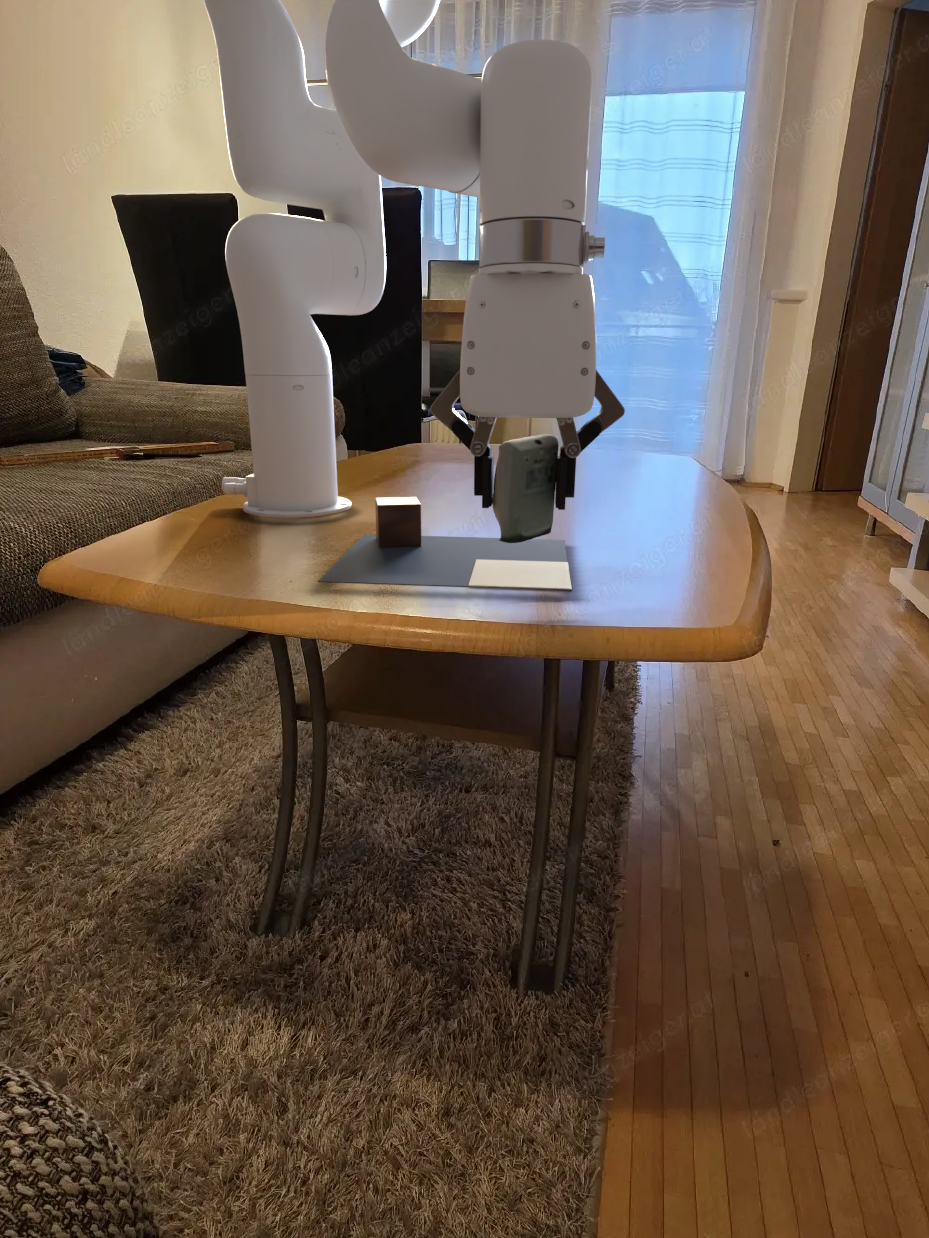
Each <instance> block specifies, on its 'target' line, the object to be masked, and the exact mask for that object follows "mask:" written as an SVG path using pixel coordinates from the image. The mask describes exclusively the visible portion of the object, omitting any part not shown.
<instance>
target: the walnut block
mask: <svg viewBox="0 0 929 1238" xmlns="http://www.w3.org/2000/svg"><path fill="white" fill-rule="evenodd" d="M374 503H375V504H374V507H375V535H376V538H377V542H378V545H379V547H410V546H421V536H422V504H421V503H420V501H419V499H418V497H417V496H388V497H387V496H386V497H384V496H383V497H375V498H374Z"/></svg>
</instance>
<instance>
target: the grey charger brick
mask: <svg viewBox="0 0 929 1238" xmlns="http://www.w3.org/2000/svg"><path fill="white" fill-rule="evenodd" d="M558 439H559V438H558V437H557V436H555V435H553V434H547V433H546V434H545V433H544V434H536V435H531V436H525V437H524V436H523V437H519V438H514V439H509V440H505V441H503V442H502V443H500V444H499V445H498V454H497V455H498V457H497V461H496V466H495V469H494V470H495V471H494V482H493V500H492V510H493V514H494V517H495V519H496V521H497V523H498V526H499V530H500V537H499V538H500V539H499V541H502V542H506V543H519V542H524V541H527V540H529V539H537V538H539V537H543V536H546V535H549V534H551V532H552V528H553V524H554V512H555V494H556V474H557V456H559V448H560V445H559V440H558Z"/></svg>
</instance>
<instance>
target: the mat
mask: <svg viewBox="0 0 929 1238" xmlns="http://www.w3.org/2000/svg"><path fill="white" fill-rule="evenodd" d="M500 538H501V537H476V536H445V535H444V536H442V535H441V536H440V535H439V536H438V535H421V546H410V547H379V545H378V542H377V538H376V534H374V533H373V534H372V533H371V534H370V533H364V534H363V535H362V536H361V537H360V538H359V539H358V540H357V541H356V542H355V543H354V544H353V545H352V546H351V547H350V548H349V549H348V550H347V551H346V553H344V555H342V556H341V557H340V558H339V560H338V561H336V562H335V563H334V564H333V566H331V568H329V570H327V571H326V573H325V574H324V575H322V577H321V578H319V580H318V581H317V582H318V583H335V584H336V583H338V584H339V583H341V584H366V585H367V584H368V585H369V584H370V585H371V584H372V585H394V586H395V585H398V586H399V585H401V586H424V587H425V586H426V587H427V586H429V587H430V586H431V587H457V588H458V587H459V588H485V589H486V588H488V589H489V588H490V589H515V590H517V589H518V590H544V591H545V590H546V591H547V590H549V591H550V590H551V591H572V590H573V588H572V587H573V586H572V580H571V573H570V566H569V560H568V553H567V547H566V541H565V539H548V538H533V539H529V540H527V541H524V542H519V543H506V542H502V541H499V539H500Z"/></svg>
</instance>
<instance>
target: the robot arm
mask: <svg viewBox="0 0 929 1238" xmlns="http://www.w3.org/2000/svg"><path fill="white" fill-rule="evenodd" d="M440 2H441V0H334V2H333V4H332V7H331V10H330V13H329V18H328V21H327V27H326V33H325V34H326V35H325V47H324V49H325V50H324V52H325V53H324V56H325V75H326V82H327V87H328V92H329V96H330V98H331V101H332V103H333V106H334V108H335V109H333V108H329V107H326V106H325V107H324V106H320V105H317V104H315V103H314V101H312V99H311V97H310V95H309V91H308V85H307V77H306V62H305V53H304V49H303V46H302V45H303V44H302V42H301V39H300V37H299V34H298V32H297V29H296V27H295V25H294V22H293V21H292V18H291V16H290V14H289V12H288V11H287V9H286V7H285V5H284V4H283V2H282V1H281V0H203V5H204V7H205V10H206V13H207V16H208V21H209V23H210V26H211V31H212V34H213V38H214V42H215V48H216V54H217V63H218V74H219V82H220V89H221V90H220V92H221V99H222V100H221V101H222V109H223V117H224V124H225V126H224V127H225V134H226V142H227V151H228V157H229V161H230V162H229V163H230V168H231V171H232V174H233V178H234V180H235V182H236V184H237V185H238V187H239V188H240V189H241V191H243V193H245V194H247V195H248V196H251V197H253V198H255V199H258V200H261V201H262V200H263V201H267V202H272V203H277V204H283V205H289V206H297V207H304V208H309V209H316V210H317V209H318V210H322V213H323V216H324V219H317V218H312V217H307V216H301V215H300V216H299V215H291V214H283V213H276V212H275V213H273V212H260V213H254V214H249V215H246V216H243V217H242V218H239V220H237V221H236V222H235V223H234V224H233V225H232V226H231V228H230V230H229V231H228V234H227V237H226V241H225V248H224V256H225V266H226V270H227V276H228V279H229V283H230V288H231V291H232V294H233V299H234V302H235V308H236V311H237V318H238V323H239V330H240V336H241V337H240V338H241V345H242V354H243V365H244V367H243V368H244V375H245V386H246V396H247V397H246V398H247V408H248V409H247V411H248V421H249V422H248V423H249V435H250V446H251V458H252V459H251V460H252V470H253V473H250V474H248V475H246V476H245V478H241V477H234V476H233V477H232V476H231V477H230V476H229V477H228V476H224V477H223V478H222V479H221V490H222V491H223V493H224V494H225V495H226V496H238V495H241V496H242V495H243V497H245V498H246V499H247V501H246V502H244V503H243V504H242V511H243V512H244V513H247V514H249V515H252V516H258V517H265V518H281V519H282V518H293V519H295V518H311V517H312V518H313V517H321V516H329V515H334V514H335V515H336V514H339V513H343V512H345V511H348V510H350V509H351V508H352V501H351V500H350V499H348V498H347V497H343V496H339V490H338V487H339V486H338V469H337V448H336V447H337V446H336V427H335V405H334V385H333V383H334V382H333V369H332V357H331V353H330V349H329V346H328V344H327V342H326V340H325V338H324V337H323V334H322V332H321V331H320V330H319V328H318V326H317V324H316V323H315V321H314V319H313V317H312V315H333V316H334V315H335V316H360V315H364V314H368V313H369V312H372V311H373V310H374V309H375V308H376V307H377V306H378V304H379V303H380V301H381V300H382V297H383V295H384V290H385V285H386V278H387V256H386V255H387V253H386V236H385V221H384V206H383V205H384V204H383V191H382V178H384V179H386V180H388V181H392V182H394V183H400V184H406V185H409V186H410V185H411V186H416V187H424V188H430V189H435V190H441V191H447V192H448V193H452V194H457V195H463V196H468V197H474V198H479V230H478V231H479V232H478V233H479V235H478V237H479V238H478V239H479V240H478V241H479V242H478V256H479V257H478V268H479V269H478V273H477V274H473V275H471V276H470V278H469V282H468V288H467V294H466V299H465V305H464V313H463V321H462V334H461V350H460V365H459V366H460V367H459V370H458V371H457V372H456V373H455V375H454V376H453V377H452V378H451V380H450V381H449V382H448V384H447V385H446V386H445V387H444V389H443V390H442V391H441V393H440V394H439V395H438V396H437V397H436V399H435V400H434V401H433V403H431V405H430V407H429V408H430V409H429V411H430V413H431V414H432V416H433V417H435V419H436V420H438V421H439V422H440V423H442V424H443V425H444V426H445V427H446V428H447V429H448V430H450V431H451V432H452V433H453V434H454V435H455V437H456V438H457V439H458V440H459V441H460V442H461V443H462V444H463V445H464V446H465V447H466V448H467V449H468V450H469V451H470V453H471V455H472V456H473V457H474V458H473V459H474V461H473V495H474V496H475V497H481V508H482V509H489V508H490V507H491V508H492V507H493V505H492V500H493V492H494V477H495V471H494V470H495V454H492V446H491V444H490V441H491V438H492V434H493V431H494V428H495V425H496V423H497V420H498V418H508V419H510V418H512V419H513V418H514V419H515V418H517V419H556V422H557V427H558V430H559V431H558V432H559V434H560V438H561V442H562V445H561V446H559V455H558V456H557V474H556V488H555V501H554V506H555V509H558V511H565V510H566V498H569V499H570V498H572V499H573V498H575V491H576V490H575V489H576V472H577V469H576V468H577V458H578V457H579V456H580V454H581V453H582V452H583V451H585V449H586V448H587V447H588V446H590V444H592V443H593V441H595V440H596V439H597V438H598V437H599V436H600V435H601V434H602V433H603V432H604V431H605V430H607V429H609V428H610V427H611V426H613V425H614V424H615V423H616V422H617V421H619V420H620V419H621V418H622V417H623V416H624V415H625V413H626V409H625V407H624V406H623V403H621V401H620V400H619V398H618V397H617V396H616V394H615V393H614V392H613V390H612V389H611V388H610V386H609V385H608V384H607V382H606V381H605V380H604V378H603V376H602V375H601V374H600V373H599V371H598V370H597V323H596V322H597V321H596V300H595V291H594V284H593V277H592V275H590V274H586V273H584V265H585V264H588V261H593V260H594V259H603V258H604V257H605V249H606V246H605V245H606V237H605V236H604V237H603V236H602V237H600V236H598V237H597V236H596V237H595V235H593V234H591V235H590V231H586V228H587V227H586V214H587V213H586V212H587V195H588V193H587V192H588V174H589V154H590V152H589V151H590V132H591V130H590V129H591V116H592V115H591V112H592V96H593V95H592V94H593V72H592V66H591V64H590V61H589V59H588V57H587V56H586V54H585V53H584V52H582V50H580V49H579V48H578V47H577V46H575V45H573V44H570V43H567V42H565V41H559V40H553V39H539V38H537V39H527V40H521V41H516V42H513V43H509V44H506V45H504V46H501V47H499V48H498V49H497V50H496V51H495V52H493V54H491V55H490V57H488V59H487V61H486V63H485V64H484V67H483V70H482V74H481V78H479V77H474V76H473V75H471V74H467V73H464V72H461V71H457V70H454V69H451V68H447V67H444V66H440V65H438V64H434V63H430V62H428V61H423V60H420V59H417V58H413V57H410V55H409V54H408V53H407V52H406V51H405V49H403V48H404V47H406V46H407V45H410V44H411V43H412V42H414V41H415V40H417V38H419V37H420V36H421V35H422V33H424V32H425V30H426V29H427V28H428V26H429V25H430V24H431V22H432V20H433V19H434V17H435V15H436V13H437V11H438V8H439V5H440ZM459 399H460V400H459ZM595 399H596V401H597V402H598V403H599V405H600V410H599V412H598V413H596V414H595V415H594V416H593V417H592V418H591V419H589V420H588V421H585V424H583V425H582V426H581V427H580V428H579V429H578V430H577V428H576V424H575V420H574V418H577V417H581V416H584V415H586V414H588V413H589V412H590V411H591V410H592V408H593V405H594V401H595ZM458 400H459V401H460V405H461V408H462V409H463V411H465V412H466V413H468V414H470V415H473V416H476V417H478V419H477V423H476V427H475V428H474V427H473V426H472V424H470V422H468V420H466V418H464V417H462V416H461V415H460V414H459V412H457V411H456V410H455V403H456V402H457V401H458Z"/></svg>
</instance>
